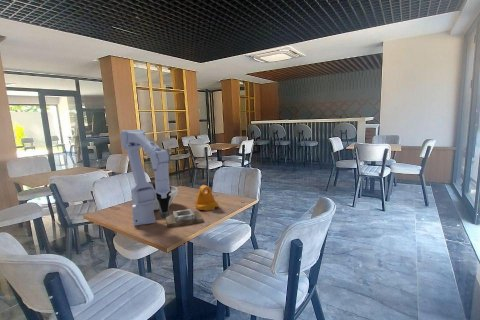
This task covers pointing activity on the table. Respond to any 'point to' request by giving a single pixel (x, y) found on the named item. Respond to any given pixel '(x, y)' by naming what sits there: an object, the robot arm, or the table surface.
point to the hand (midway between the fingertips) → (164, 210)
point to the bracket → (205, 199)
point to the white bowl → (172, 191)
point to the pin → (164, 214)
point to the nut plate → (183, 218)
